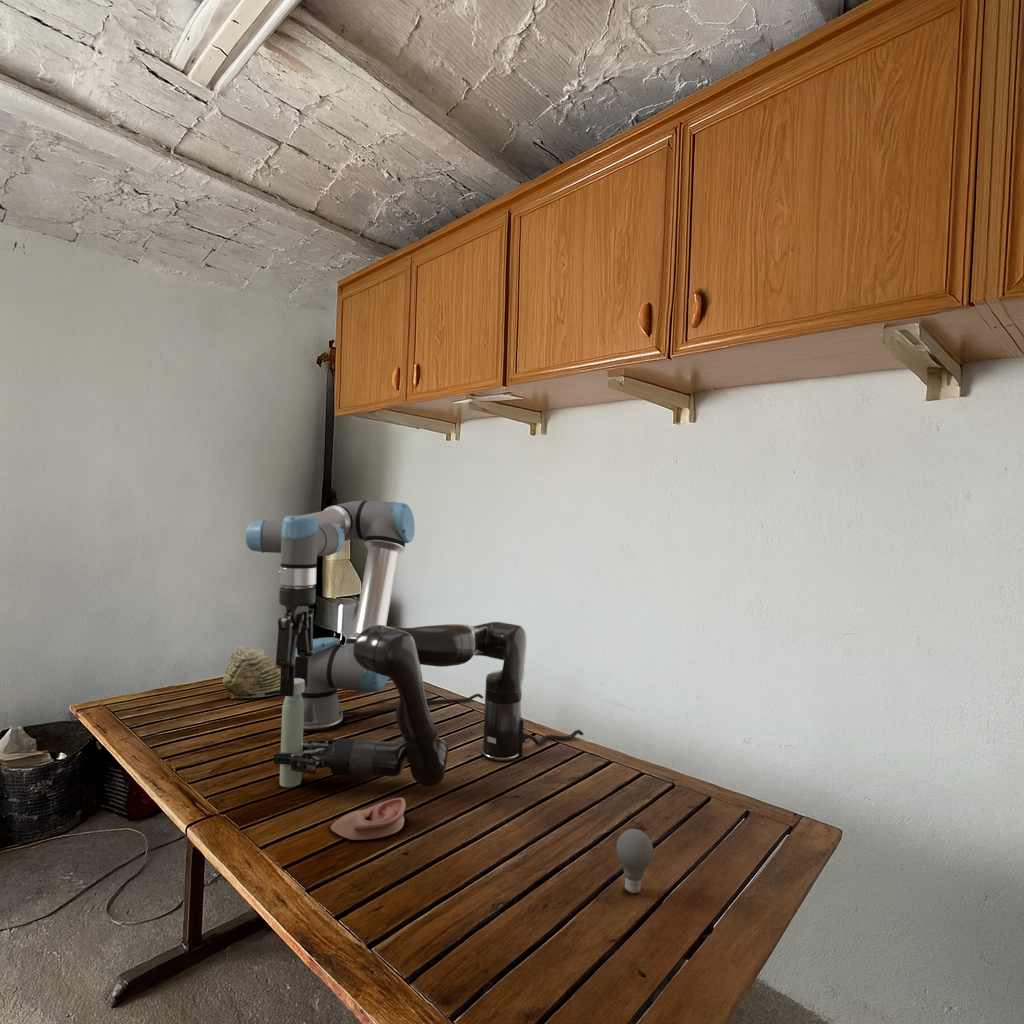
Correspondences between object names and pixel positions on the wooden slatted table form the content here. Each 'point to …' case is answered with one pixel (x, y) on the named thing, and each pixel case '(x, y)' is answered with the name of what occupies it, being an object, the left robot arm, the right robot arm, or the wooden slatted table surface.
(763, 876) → the wooden slatted table surface
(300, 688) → the cap
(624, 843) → the light bulb
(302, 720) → the bottle
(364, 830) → the anatomical model
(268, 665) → the fossil
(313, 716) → the left robot arm
